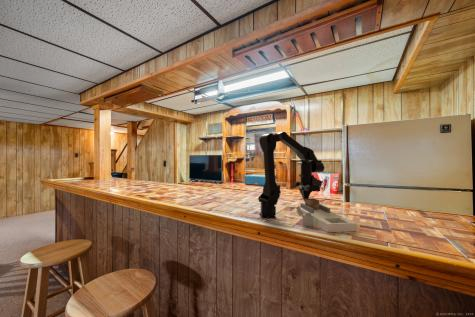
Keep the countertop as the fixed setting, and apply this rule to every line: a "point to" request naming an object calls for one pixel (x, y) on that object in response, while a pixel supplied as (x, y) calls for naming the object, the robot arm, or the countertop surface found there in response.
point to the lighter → (305, 217)
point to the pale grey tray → (328, 219)
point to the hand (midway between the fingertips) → (305, 202)
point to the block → (312, 203)
